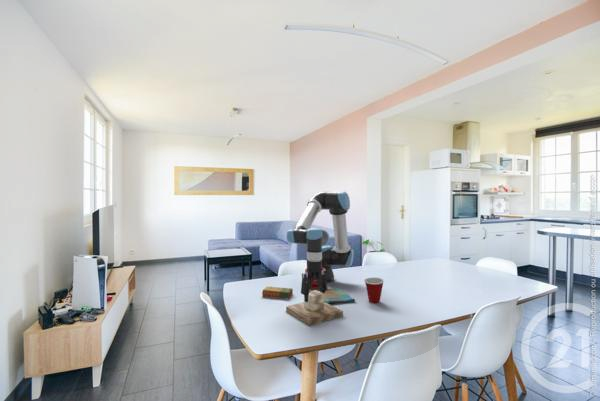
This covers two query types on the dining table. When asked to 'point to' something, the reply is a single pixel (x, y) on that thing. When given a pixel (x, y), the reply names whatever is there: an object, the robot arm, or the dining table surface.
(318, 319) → the board
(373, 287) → the plastic cup
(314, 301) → the cube
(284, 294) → the carton
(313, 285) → the plant pot
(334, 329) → the dining table surface
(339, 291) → the teal book
